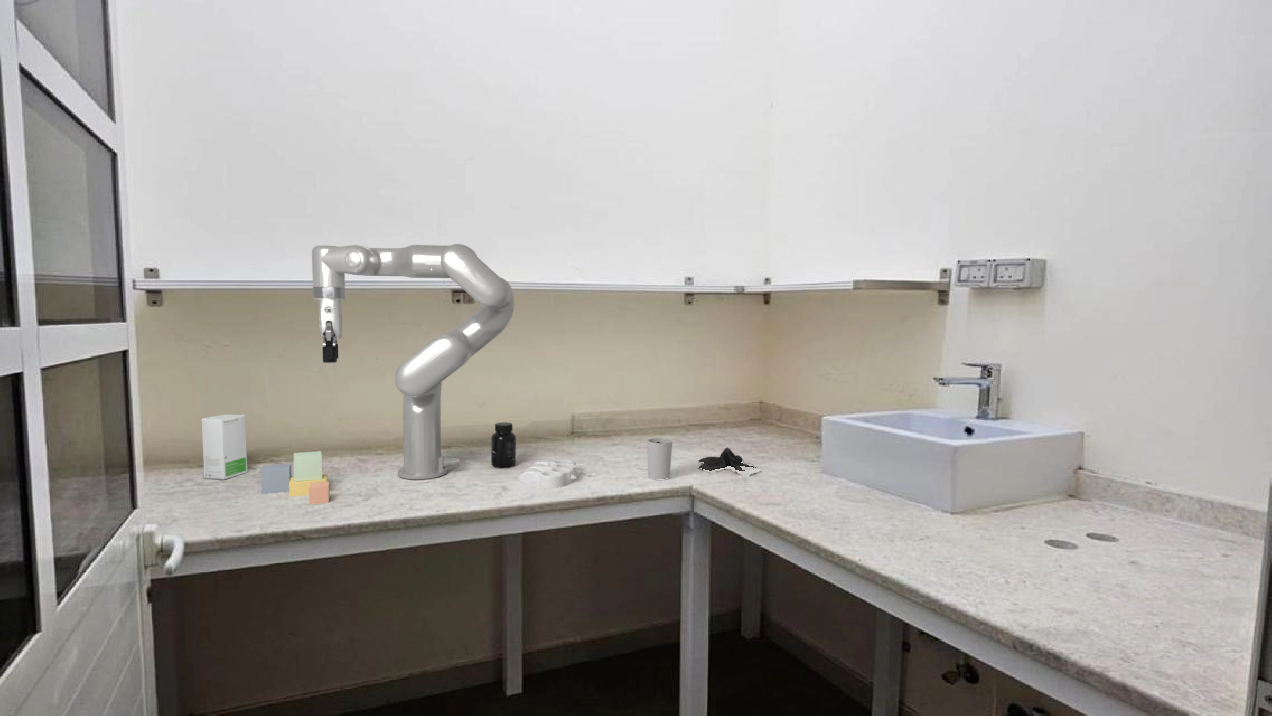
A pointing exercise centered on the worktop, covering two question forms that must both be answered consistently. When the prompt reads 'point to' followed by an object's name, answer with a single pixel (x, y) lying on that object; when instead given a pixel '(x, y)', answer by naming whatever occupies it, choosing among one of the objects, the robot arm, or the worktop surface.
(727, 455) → the cloth
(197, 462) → the worktop surface
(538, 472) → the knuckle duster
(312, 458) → the sage block
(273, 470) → the slate block
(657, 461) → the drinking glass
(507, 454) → the supplement bottle
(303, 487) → the ochre block
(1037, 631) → the worktop surface
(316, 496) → the terracotta cube
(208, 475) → the skincare box
